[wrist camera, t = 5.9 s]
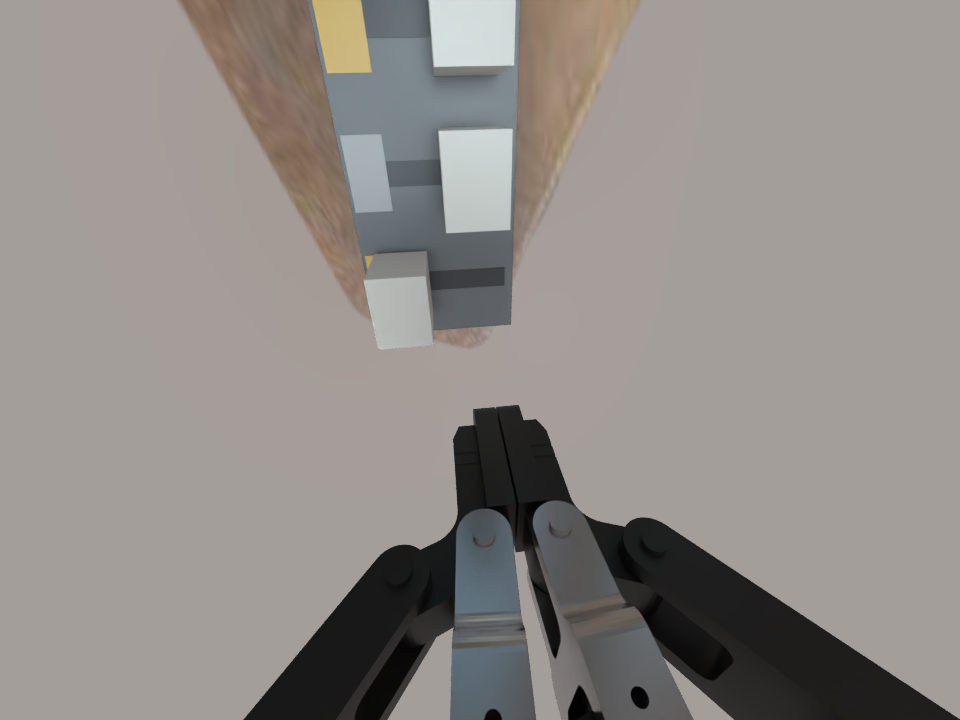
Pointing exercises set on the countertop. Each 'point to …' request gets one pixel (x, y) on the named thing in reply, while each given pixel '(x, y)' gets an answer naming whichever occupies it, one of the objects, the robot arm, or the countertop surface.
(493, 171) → the tab middle
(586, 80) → the countertop surface
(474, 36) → the tab front
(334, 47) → the switch box
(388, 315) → the tab back
